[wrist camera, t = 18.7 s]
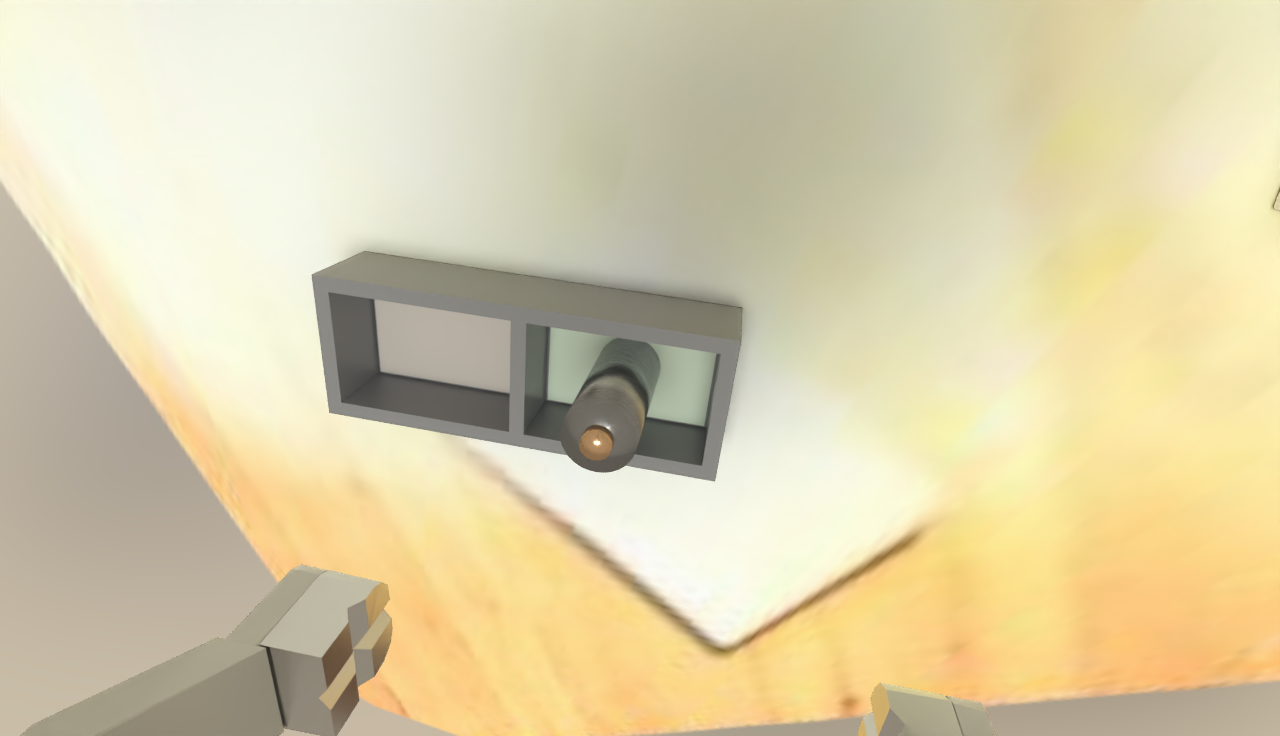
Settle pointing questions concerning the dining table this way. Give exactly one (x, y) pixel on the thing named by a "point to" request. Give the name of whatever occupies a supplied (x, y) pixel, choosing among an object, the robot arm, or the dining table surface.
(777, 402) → the dining table surface
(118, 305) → the dining table surface
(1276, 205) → the ink cartridge box
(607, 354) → the metal cell
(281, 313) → the dining table surface
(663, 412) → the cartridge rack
